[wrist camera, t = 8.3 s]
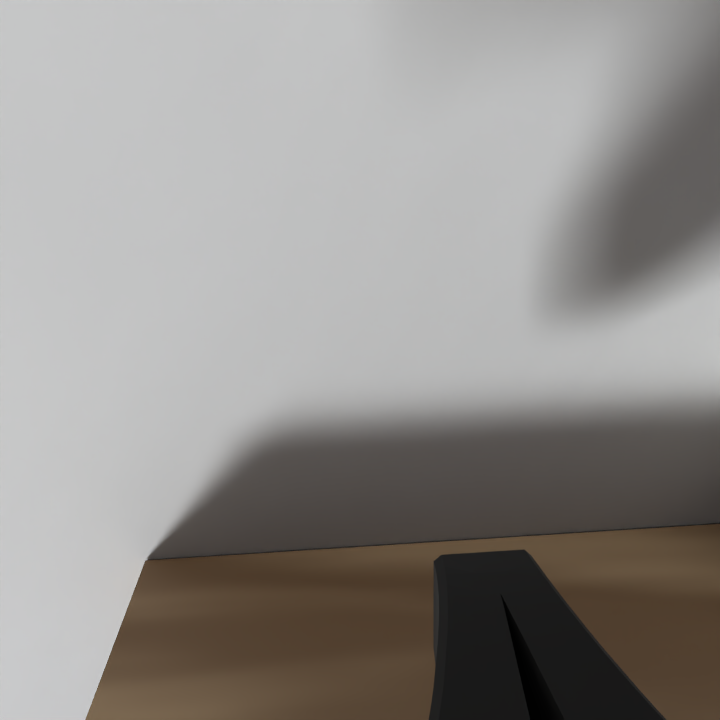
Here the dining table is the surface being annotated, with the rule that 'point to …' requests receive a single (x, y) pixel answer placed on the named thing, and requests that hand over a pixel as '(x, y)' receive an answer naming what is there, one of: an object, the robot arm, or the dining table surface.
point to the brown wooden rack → (397, 627)
